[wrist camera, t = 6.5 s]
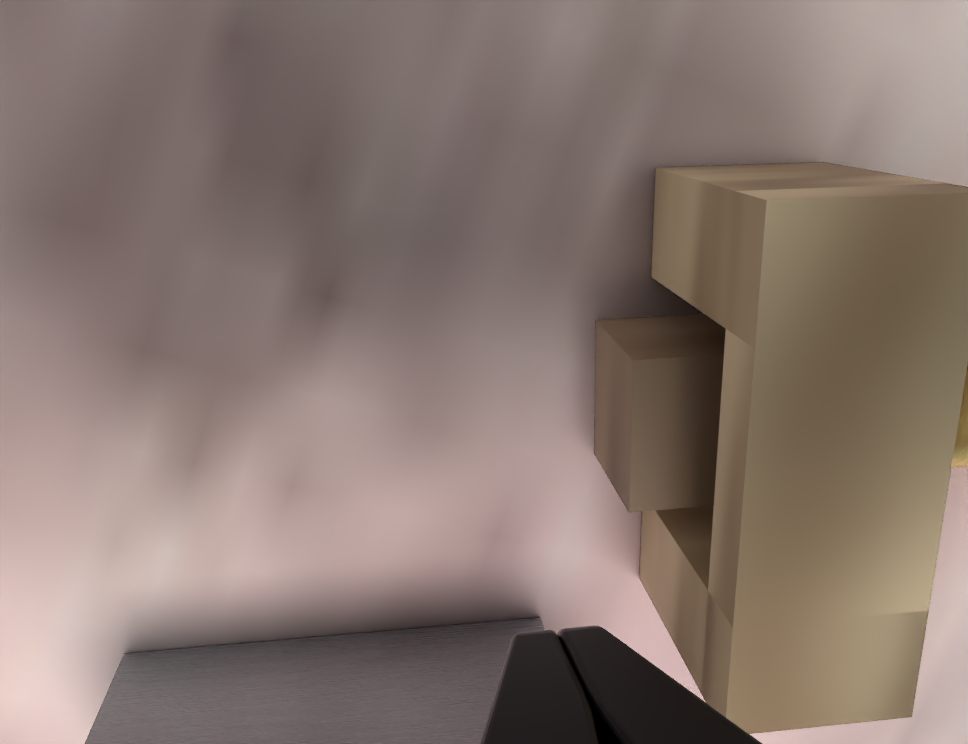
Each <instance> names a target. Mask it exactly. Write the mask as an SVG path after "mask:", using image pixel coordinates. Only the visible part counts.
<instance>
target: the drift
mask: <svg viewBox="0 0 968 744" xmlns="http://www.w3.org/2000/svg"><path fill="white" fill-rule="evenodd" d="M725 332H726V329H725V328H724V327H723V326H721V325H720V324H718V323H717V322H715V321H714V320H712V319H711V318H710V317H708V316H707V315H705V314H691V315H674V316H658V317H641V318H624V319H608V320H595V417H594V454H595V456H596V458H597V459H598V461H599V463H600V464H601V466H602V468H603V469H604V471H605V473H606V474H607V476H608V478H609V479H610V481H611V483H612V485H613V486H614V488H615V490H616V491H617V493H618V495H619V496H620V498H621V500H622V501H623V503H624V505H625V506H626V508H627V510H628V512H641V511H653V510H665V509H677V508H689V507H701V506H713V505H714V495H715V480H716V465H717V450H718V436H719V421H720V406H721V391H722V376H723V361H724V346H725Z"/></svg>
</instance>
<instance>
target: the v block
mask: <svg viewBox="0 0 968 744" xmlns="http://www.w3.org/2000/svg"><path fill="white" fill-rule="evenodd" d="M543 630H544V627H543V624H542V621H541V618H529V619H517V620H506V621H494V622H483V623H471V624H460V625H448V626H437V627H425V628H414V629H402V630H391V631H379V632H368V633H356V634H345V635H333V636H322V637H310V638H298V639H287V640H275V641H264V642H252V643H241V644H229V645H218V646H206V647H195V648H183V649H172V650H160V651H149V652H137V653H126V654H124V655H123V658H122V660H121V662H120V664H119V667H118V669H117V671H116V674H115V676H114V678H113V680H112V683H111V685H110V687H109V689H108V692H107V694H106V696H105V699H104V701H103V703H102V705H101V708H100V710H99V712H98V715H97V717H96V719H95V721H94V724H93V726H92V728H91V730H90V733H89V735H88V737H87V740H86V742H85V744H480V742H481V738H482V735H483V732H484V728H485V725H486V722H487V718H488V715H489V712H490V708H491V705H492V702H493V698H494V695H495V692H496V689H497V685H498V682H499V679H500V675H501V672H502V669H503V665H504V662H505V659H506V655H507V652H508V649H509V645H510V642H511V639H512V637H513V636H514V635H515V634H516V633H521V632H532V631H543Z"/></svg>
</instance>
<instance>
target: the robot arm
mask: <svg viewBox="0 0 968 744" xmlns="http://www.w3.org/2000/svg"><path fill="white" fill-rule="evenodd" d="M480 744H762V743H761V742H759V741H758V740H756V739H755V738H754V737H752V736H751V735H750V734H748V733H747V732H745V731H744V730H743V729H741V728H740V727H738V726H737V725H736V724H734V723H733V722H732V721H730V720H729V719H727V718H726V717H725V716H723V715H722V714H721V713H719V712H718V711H716V710H715V709H714V708H712V707H711V706H710V705H708V704H707V703H705V702H704V701H703V700H701V699H700V698H699V697H697V696H696V695H694V694H693V693H692V692H690V691H689V690H688V689H686V688H685V687H683V686H682V685H681V684H679V683H678V682H677V681H675V680H674V679H672V678H671V677H670V676H668V675H667V674H666V673H664V672H663V671H661V670H660V669H659V668H657V667H656V666H655V665H653V664H652V663H650V662H649V661H648V660H646V659H645V658H644V657H642V656H641V655H639V654H638V653H637V652H635V651H634V650H633V649H631V648H630V647H628V646H627V645H626V644H624V643H623V642H622V641H620V640H619V639H617V638H616V637H615V636H613V635H612V634H611V633H609V632H608V631H606V630H605V629H603V628H602V627H600V626H586V627H575V628H565V629H561V630H560V631H559V632H558V634H556V633H555V632H554V631H552V630H543V631H532V632H521V633H516V634H515V635H514V636H513V637H512V639H511V642H510V645H509V649H508V652H507V655H506V659H505V662H504V665H503V669H502V672H501V675H500V679H499V682H498V685H497V689H496V692H495V695H494V698H493V702H492V705H491V708H490V712H489V715H488V718H487V722H486V725H485V728H484V732H483V735H482V738H481V742H480Z"/></svg>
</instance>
